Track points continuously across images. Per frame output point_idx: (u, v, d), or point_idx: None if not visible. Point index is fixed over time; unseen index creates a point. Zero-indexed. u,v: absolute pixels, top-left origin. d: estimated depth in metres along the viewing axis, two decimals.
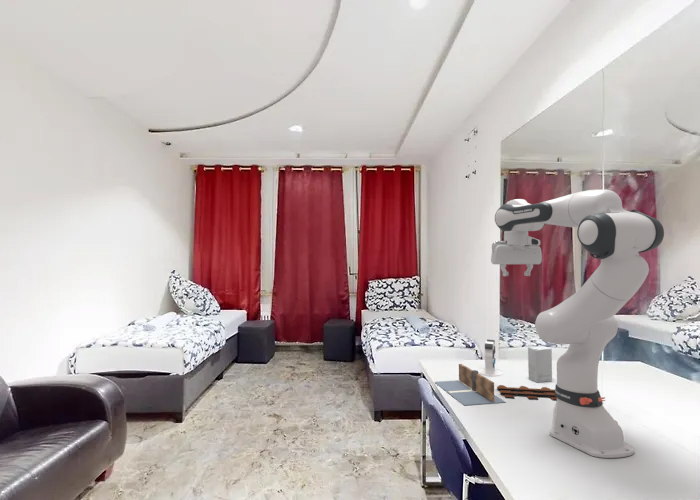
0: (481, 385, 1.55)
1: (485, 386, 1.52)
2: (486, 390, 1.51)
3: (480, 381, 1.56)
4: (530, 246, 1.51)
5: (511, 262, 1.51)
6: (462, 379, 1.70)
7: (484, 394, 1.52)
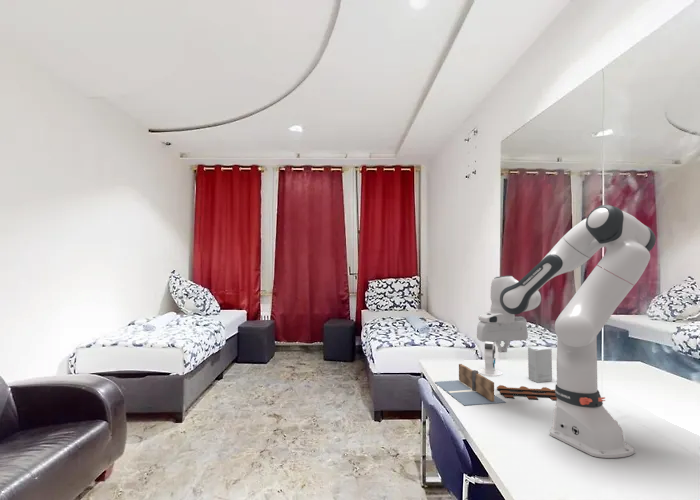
0: (481, 385, 1.55)
1: (485, 386, 1.52)
2: (486, 390, 1.51)
3: (480, 381, 1.56)
4: None
5: None
6: (462, 379, 1.70)
7: (484, 394, 1.52)
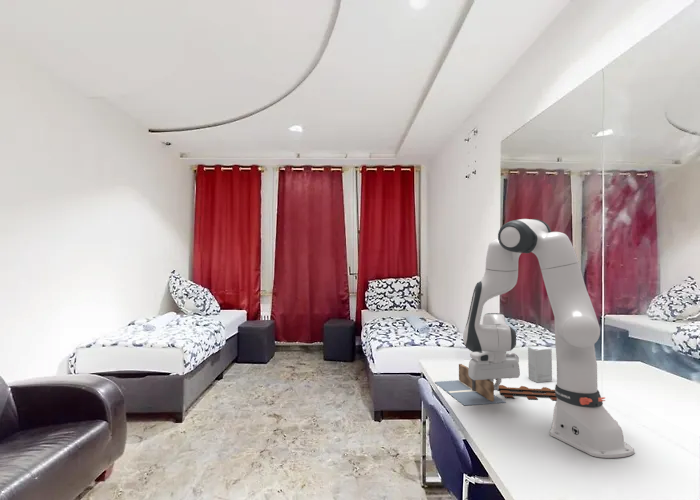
0: (481, 385, 1.55)
1: (485, 386, 1.52)
2: (486, 390, 1.51)
3: (480, 381, 1.56)
4: None
5: None
6: (462, 379, 1.70)
7: (484, 394, 1.52)
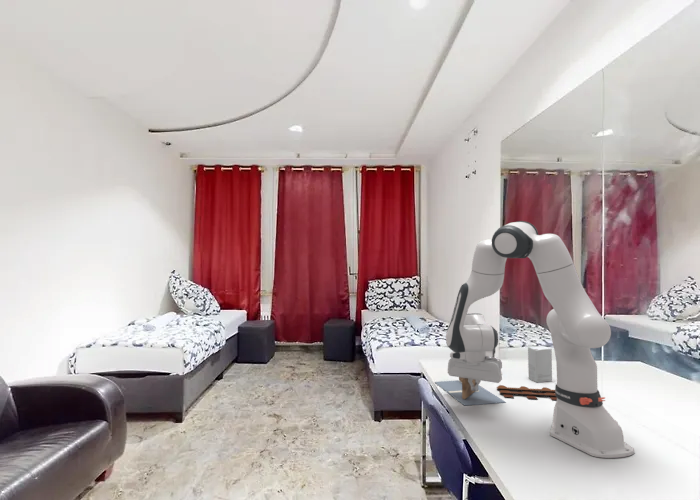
0: None
1: None
2: None
3: None
4: None
5: None
6: (462, 379, 1.70)
7: None
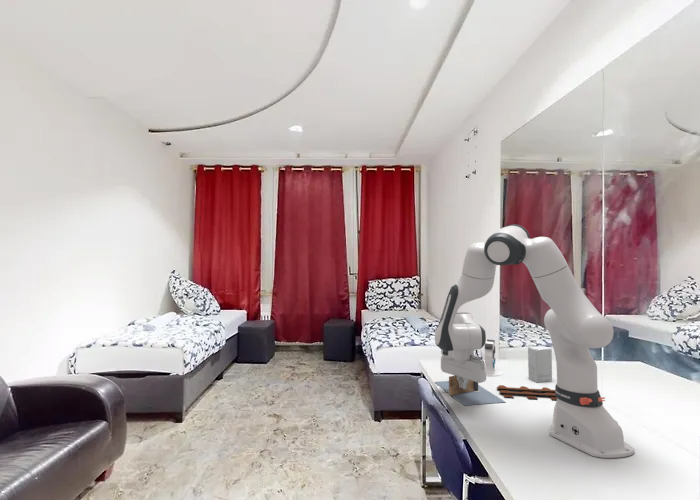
0: None
1: None
2: None
3: None
4: None
5: None
6: None
7: None
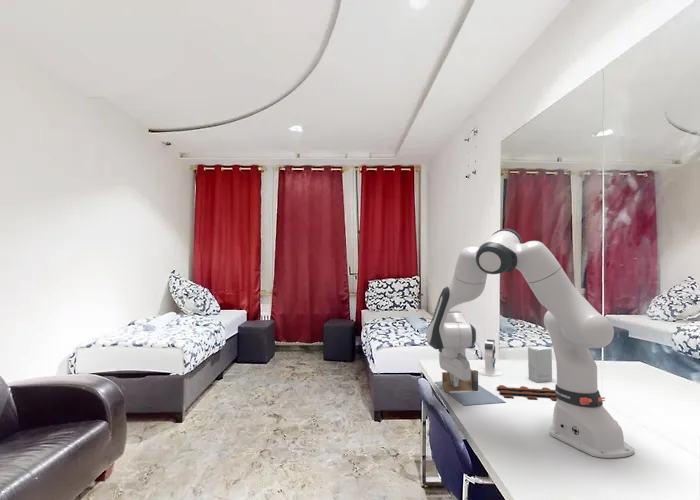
0: None
1: None
2: None
3: None
4: None
5: None
6: None
7: None
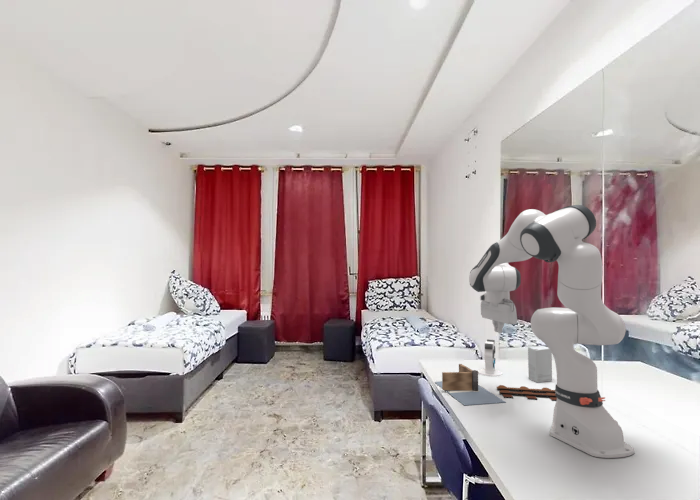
0: None
1: None
2: None
3: None
4: None
5: None
6: None
7: None
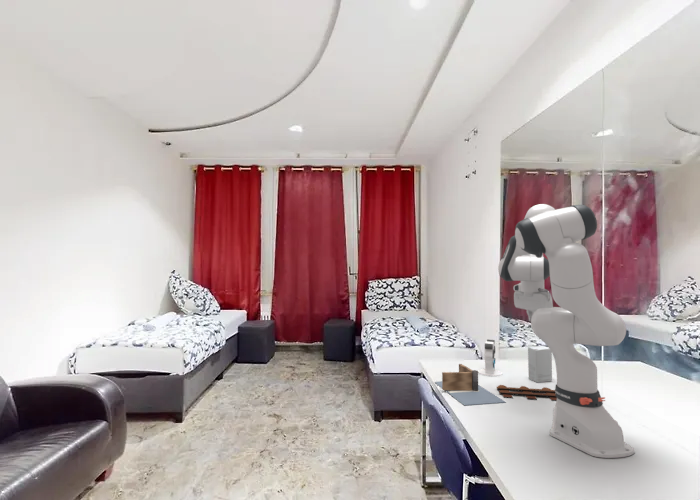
0: None
1: None
2: None
3: None
4: None
5: None
6: None
7: None
